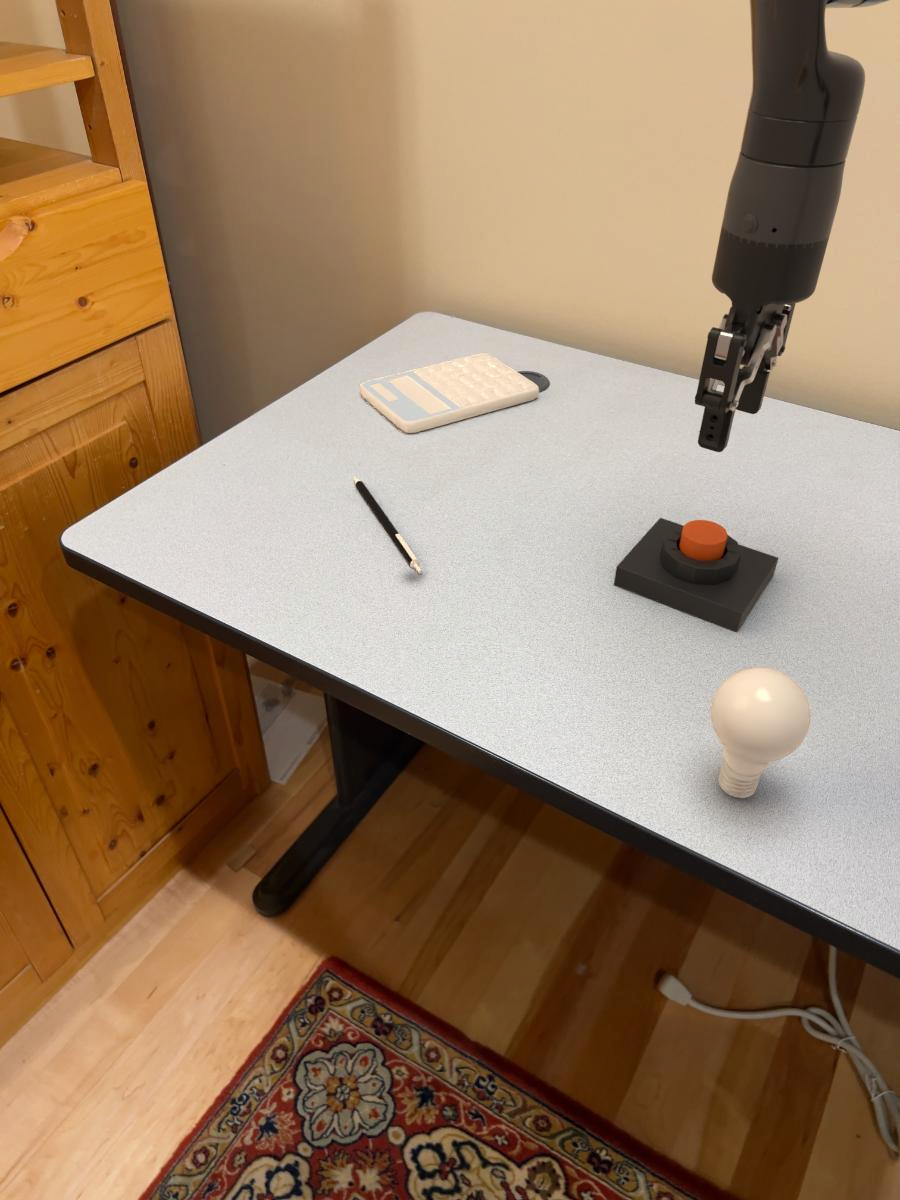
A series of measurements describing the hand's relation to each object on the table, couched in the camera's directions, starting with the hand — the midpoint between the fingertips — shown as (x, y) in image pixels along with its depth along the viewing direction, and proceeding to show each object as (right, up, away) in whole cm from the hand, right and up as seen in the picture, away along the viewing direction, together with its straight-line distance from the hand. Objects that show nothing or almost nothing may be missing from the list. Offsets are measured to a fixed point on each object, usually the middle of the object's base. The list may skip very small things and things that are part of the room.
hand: (729, 428), depth 74 cm
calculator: (-23, +12, +40) cm, 48 cm away
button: (0, -10, +8) cm, 12 cm away
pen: (-30, -7, +17) cm, 35 cm away
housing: (0, -13, +10) cm, 16 cm away
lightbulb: (-3, -28, -9) cm, 30 cm away
